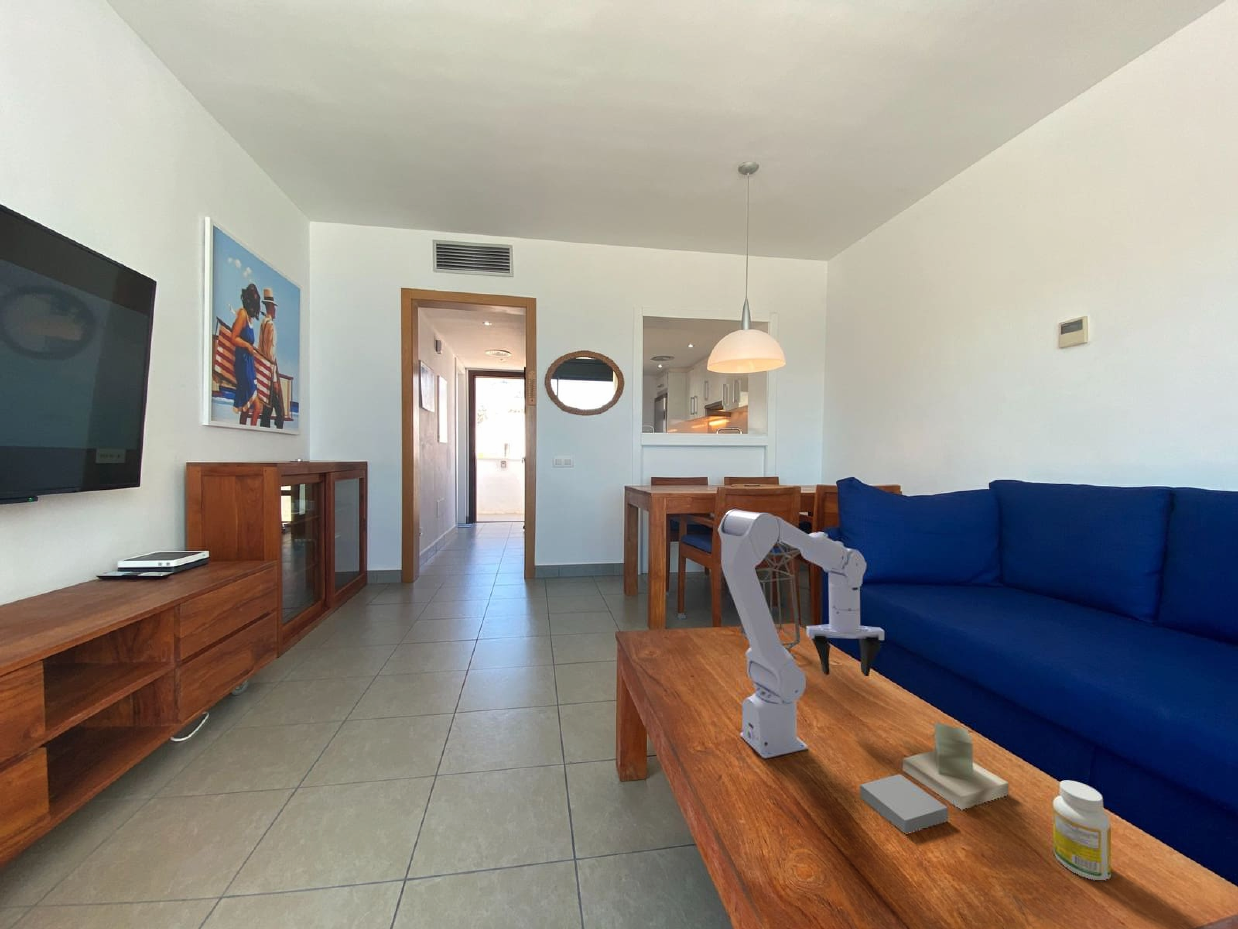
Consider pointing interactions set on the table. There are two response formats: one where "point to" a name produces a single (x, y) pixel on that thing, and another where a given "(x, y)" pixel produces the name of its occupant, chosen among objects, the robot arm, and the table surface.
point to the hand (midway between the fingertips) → (845, 673)
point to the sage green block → (953, 752)
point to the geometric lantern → (778, 590)
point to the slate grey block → (903, 803)
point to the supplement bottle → (1082, 831)
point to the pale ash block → (956, 782)
